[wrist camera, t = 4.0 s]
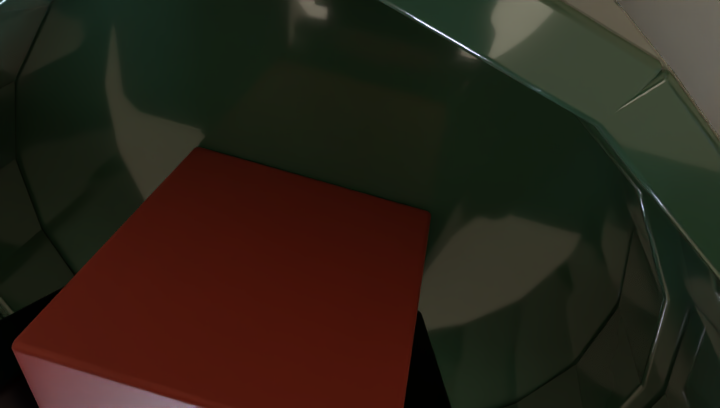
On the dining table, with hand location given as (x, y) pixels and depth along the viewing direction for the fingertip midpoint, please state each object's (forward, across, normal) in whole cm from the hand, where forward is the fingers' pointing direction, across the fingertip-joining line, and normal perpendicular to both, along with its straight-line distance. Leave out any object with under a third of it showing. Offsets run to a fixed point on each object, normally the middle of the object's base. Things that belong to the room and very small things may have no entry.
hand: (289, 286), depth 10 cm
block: (+1, 0, 0) cm, 1 cm away
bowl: (+1, 0, 0) cm, 1 cm away
